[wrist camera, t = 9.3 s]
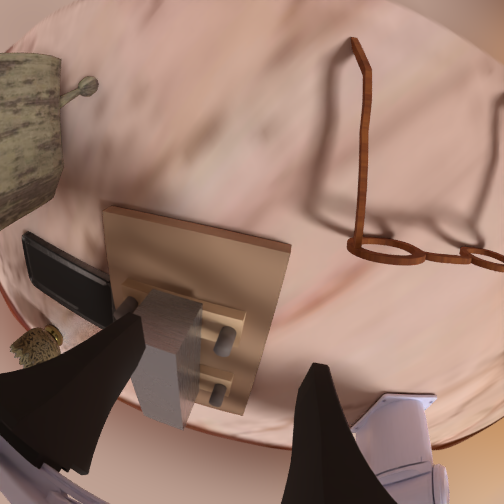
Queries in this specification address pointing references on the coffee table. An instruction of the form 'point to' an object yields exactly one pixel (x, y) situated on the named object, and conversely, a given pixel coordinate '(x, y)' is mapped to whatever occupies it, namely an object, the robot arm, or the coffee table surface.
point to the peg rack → (202, 290)
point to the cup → (37, 346)
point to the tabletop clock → (31, 131)
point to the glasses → (359, 239)
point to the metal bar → (169, 357)
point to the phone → (69, 281)
